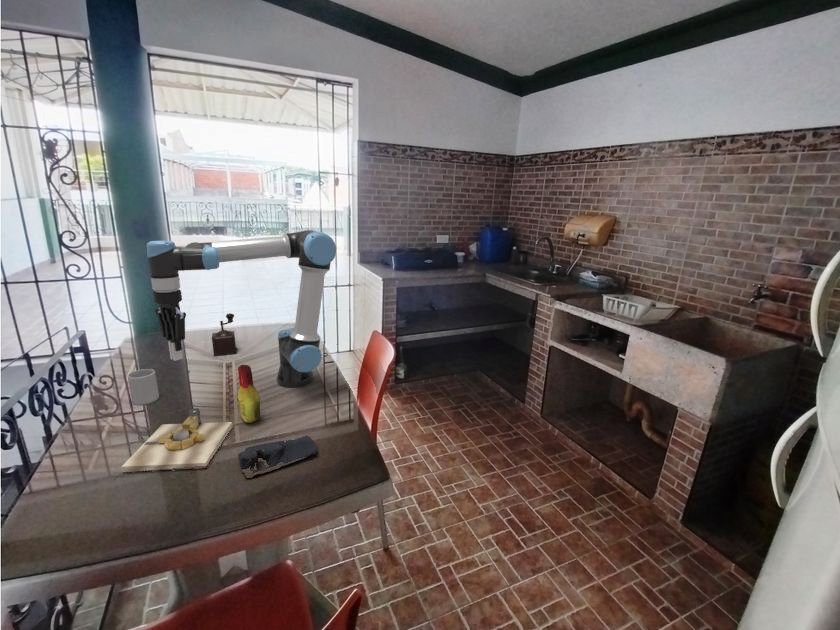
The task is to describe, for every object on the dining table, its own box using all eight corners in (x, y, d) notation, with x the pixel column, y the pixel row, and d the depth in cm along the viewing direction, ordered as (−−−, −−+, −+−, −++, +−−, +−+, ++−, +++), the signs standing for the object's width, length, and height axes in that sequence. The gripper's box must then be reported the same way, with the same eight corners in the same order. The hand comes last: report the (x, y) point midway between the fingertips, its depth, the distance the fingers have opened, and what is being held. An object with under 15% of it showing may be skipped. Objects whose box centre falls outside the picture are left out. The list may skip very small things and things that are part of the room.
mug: (154, 403, 146) (150, 376, 143) (128, 406, 143) (123, 378, 141) (165, 389, 157) (161, 364, 154) (141, 391, 155) (136, 366, 152)
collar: (217, 420, 131) (215, 407, 130) (197, 448, 116) (195, 433, 115) (178, 422, 130) (176, 408, 128) (152, 450, 115) (150, 435, 113)
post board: (232, 427, 132) (231, 413, 131) (206, 468, 111) (204, 453, 110) (163, 429, 129) (160, 416, 128) (122, 472, 108) (119, 457, 107)
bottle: (237, 412, 141) (232, 361, 136) (256, 408, 145) (251, 358, 139) (243, 428, 132) (238, 373, 126) (263, 422, 135) (259, 369, 130)
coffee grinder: (238, 353, 197) (234, 319, 192) (213, 356, 192) (209, 321, 187) (237, 344, 210) (234, 312, 206) (214, 346, 206) (210, 313, 201)
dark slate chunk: (321, 461, 116) (321, 448, 115) (241, 483, 106) (239, 468, 105) (310, 435, 129) (309, 423, 128) (237, 452, 119) (236, 439, 118)
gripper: (192, 290, 124) (200, 359, 131) (166, 285, 131) (175, 351, 137) (167, 294, 118) (178, 366, 124) (142, 289, 124) (153, 358, 131)
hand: (176, 358), depth 131 cm, fingers closed
